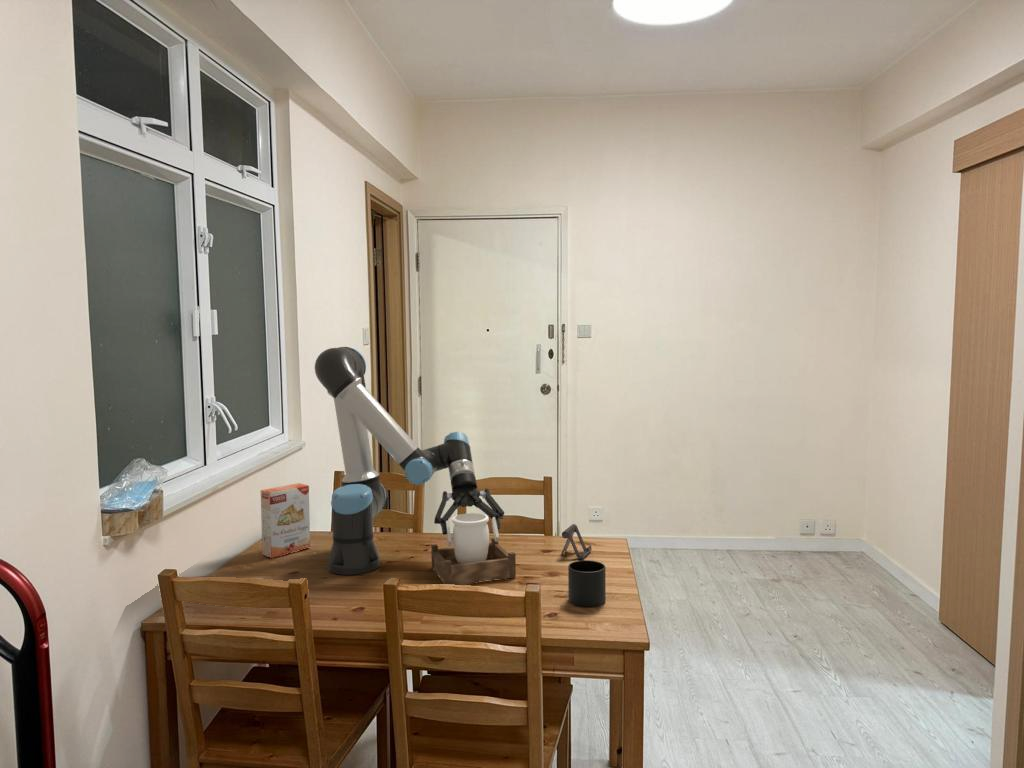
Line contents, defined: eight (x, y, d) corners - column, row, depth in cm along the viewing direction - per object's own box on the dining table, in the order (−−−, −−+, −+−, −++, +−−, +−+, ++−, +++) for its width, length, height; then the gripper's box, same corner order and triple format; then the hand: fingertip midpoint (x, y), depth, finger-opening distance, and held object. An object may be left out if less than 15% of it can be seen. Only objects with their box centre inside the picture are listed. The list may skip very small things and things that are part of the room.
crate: (446, 587, 196) (445, 562, 196) (431, 568, 212) (431, 545, 211) (515, 578, 203) (515, 553, 202) (496, 560, 219) (496, 537, 218)
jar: (475, 577, 200) (474, 524, 199) (445, 571, 206) (444, 519, 204) (497, 566, 209) (496, 515, 208) (467, 561, 214) (466, 511, 213)
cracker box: (272, 560, 222) (269, 492, 220) (261, 556, 226) (259, 489, 224) (311, 548, 232) (309, 484, 231) (301, 545, 236) (298, 482, 235)
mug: (607, 591, 192) (607, 557, 191) (604, 608, 180) (604, 573, 179) (571, 589, 194) (571, 556, 193) (566, 606, 182) (566, 571, 181)
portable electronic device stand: (582, 560, 217) (582, 533, 217) (558, 557, 220) (557, 530, 220) (591, 552, 225) (591, 525, 225) (567, 549, 228) (567, 523, 228)
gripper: (422, 473, 212) (430, 538, 198) (505, 468, 218) (518, 531, 205) (420, 488, 217) (428, 552, 204) (501, 482, 223) (514, 544, 210)
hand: (473, 541), depth 204 cm, fingers open, 13 cm apart
